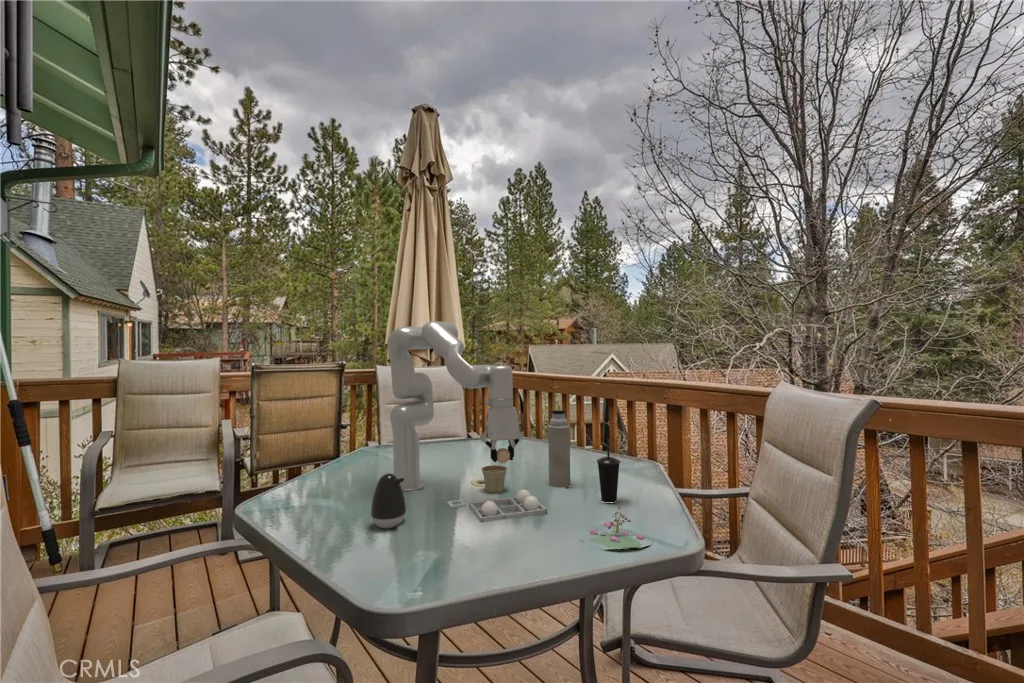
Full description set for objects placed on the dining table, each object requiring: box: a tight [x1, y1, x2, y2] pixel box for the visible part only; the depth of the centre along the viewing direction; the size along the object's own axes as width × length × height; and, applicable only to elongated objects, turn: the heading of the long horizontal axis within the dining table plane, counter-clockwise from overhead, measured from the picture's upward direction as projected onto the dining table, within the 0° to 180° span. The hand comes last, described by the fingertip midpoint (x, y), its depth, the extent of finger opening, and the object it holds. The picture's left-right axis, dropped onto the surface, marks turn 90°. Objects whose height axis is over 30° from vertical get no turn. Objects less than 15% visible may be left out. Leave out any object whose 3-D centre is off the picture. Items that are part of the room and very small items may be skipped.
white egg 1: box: [481, 500, 498, 517], centre depth 143 cm, size 5×5×5 cm
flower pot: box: [480, 464, 508, 494], centre depth 169 cm, size 9×9×9 cm
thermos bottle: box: [547, 409, 571, 489], centre depth 176 cm, size 8×8×28 cm
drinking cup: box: [596, 441, 621, 502], centre depth 157 cm, size 8×8×20 cm
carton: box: [468, 496, 548, 523], centre depth 148 cm, size 21×14×2 cm
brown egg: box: [496, 447, 510, 464], centre depth 151 cm, size 5×5×5 cm
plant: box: [586, 507, 645, 551], centre depth 132 cm, size 25×21×9 cm
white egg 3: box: [524, 495, 540, 511], centre depth 147 cm, size 5×5×5 cm
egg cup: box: [447, 499, 467, 509], centre depth 154 cm, size 6×6×1 cm
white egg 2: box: [515, 488, 532, 504], centre depth 154 cm, size 5×5×5 cm
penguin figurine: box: [370, 473, 407, 529], centre depth 139 cm, size 10×10×15 cm
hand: (502, 459), depth 152 cm, fingers closed on brown egg, 4 cm apart
